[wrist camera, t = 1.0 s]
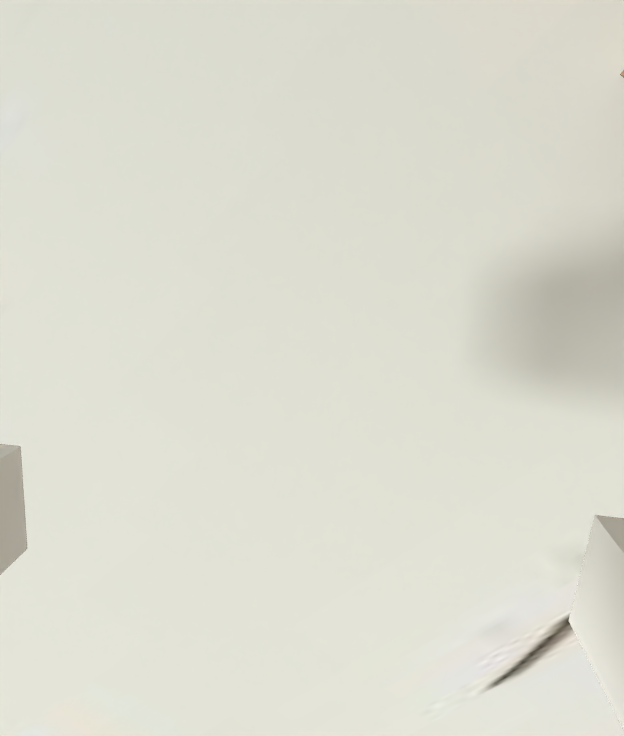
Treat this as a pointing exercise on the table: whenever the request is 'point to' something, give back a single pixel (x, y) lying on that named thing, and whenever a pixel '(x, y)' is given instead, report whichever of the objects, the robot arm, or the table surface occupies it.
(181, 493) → the table surface
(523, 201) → the table surface
